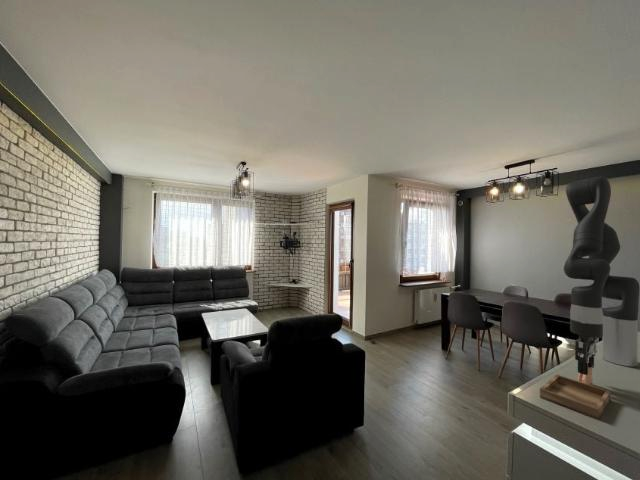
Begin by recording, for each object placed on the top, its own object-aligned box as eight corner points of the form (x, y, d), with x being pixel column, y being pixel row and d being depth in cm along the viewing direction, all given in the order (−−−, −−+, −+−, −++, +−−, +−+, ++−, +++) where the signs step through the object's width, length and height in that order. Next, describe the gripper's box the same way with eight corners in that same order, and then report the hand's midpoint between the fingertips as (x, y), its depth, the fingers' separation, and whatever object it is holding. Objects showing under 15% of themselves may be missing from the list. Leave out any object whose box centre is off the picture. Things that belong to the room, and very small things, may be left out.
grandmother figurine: (578, 378, 90) (578, 340, 90) (594, 383, 87) (594, 344, 87) (577, 386, 84) (577, 346, 85) (595, 391, 82) (595, 350, 82)
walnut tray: (556, 382, 87) (556, 374, 87) (610, 400, 77) (610, 391, 77) (539, 397, 78) (539, 388, 78) (598, 419, 68) (598, 410, 68)
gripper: (576, 314, 93) (576, 360, 93) (564, 320, 85) (564, 371, 85) (607, 319, 87) (607, 369, 87) (597, 326, 79) (597, 381, 79)
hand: (586, 370), depth 86 cm, fingers closed on grandmother figurine, 8 cm apart
